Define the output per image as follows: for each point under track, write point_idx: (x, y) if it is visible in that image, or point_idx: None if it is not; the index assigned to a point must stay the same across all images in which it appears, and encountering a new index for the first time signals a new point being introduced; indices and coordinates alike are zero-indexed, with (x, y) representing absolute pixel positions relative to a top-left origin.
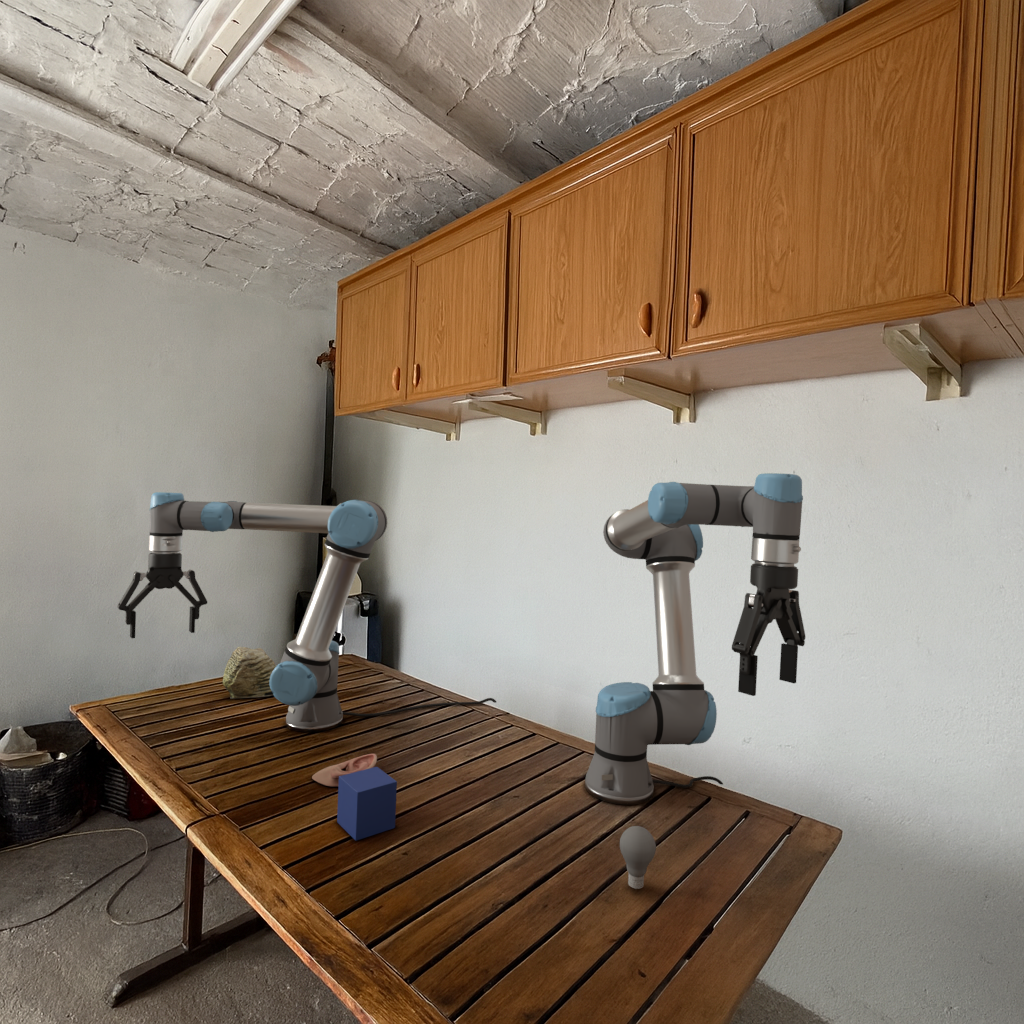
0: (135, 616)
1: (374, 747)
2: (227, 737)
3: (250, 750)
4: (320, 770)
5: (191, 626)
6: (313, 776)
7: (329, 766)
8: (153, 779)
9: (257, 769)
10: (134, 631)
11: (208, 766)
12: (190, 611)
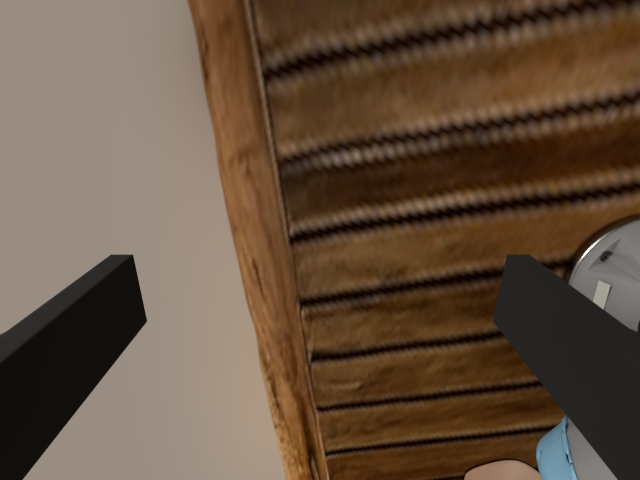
0: (36, 460)
1: None
2: (437, 262)
3: (443, 344)
4: (484, 474)
5: (517, 346)
6: (467, 478)
7: (501, 473)
8: (273, 374)
9: (418, 414)
10: (118, 351)
11: (359, 370)
12: (623, 395)
